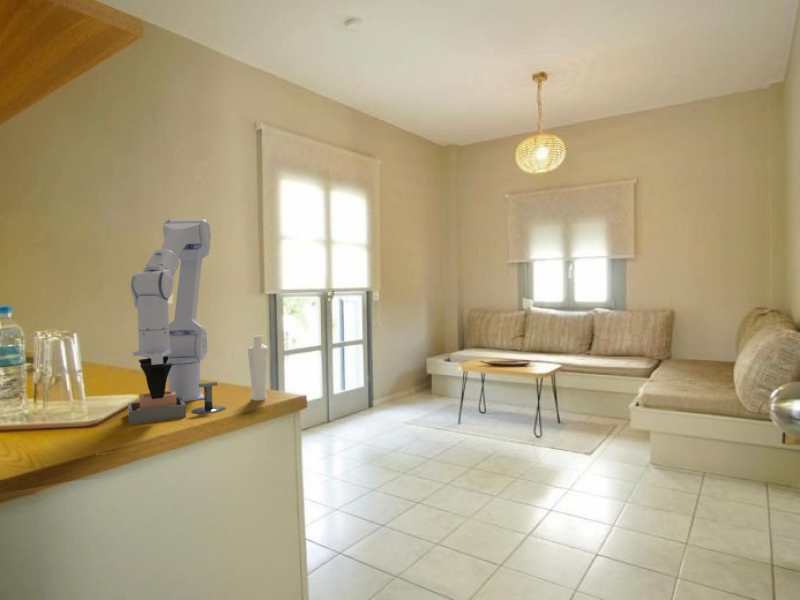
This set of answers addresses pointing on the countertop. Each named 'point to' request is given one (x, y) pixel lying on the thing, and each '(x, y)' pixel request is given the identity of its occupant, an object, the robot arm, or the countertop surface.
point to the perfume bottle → (258, 368)
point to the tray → (155, 412)
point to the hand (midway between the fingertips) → (156, 394)
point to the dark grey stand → (208, 400)
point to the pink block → (157, 400)
